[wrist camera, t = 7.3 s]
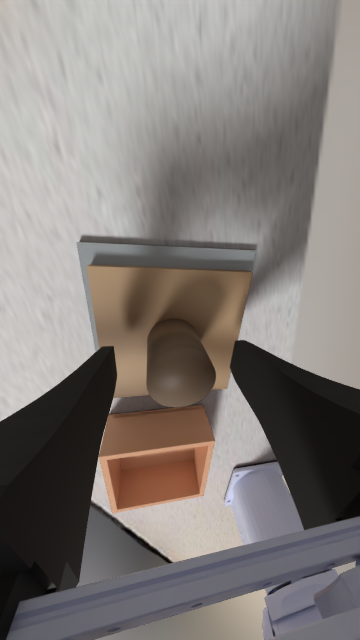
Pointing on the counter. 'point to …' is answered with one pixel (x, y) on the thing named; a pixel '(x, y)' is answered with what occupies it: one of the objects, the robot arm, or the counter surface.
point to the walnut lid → (169, 327)
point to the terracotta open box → (156, 456)
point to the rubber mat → (157, 261)
